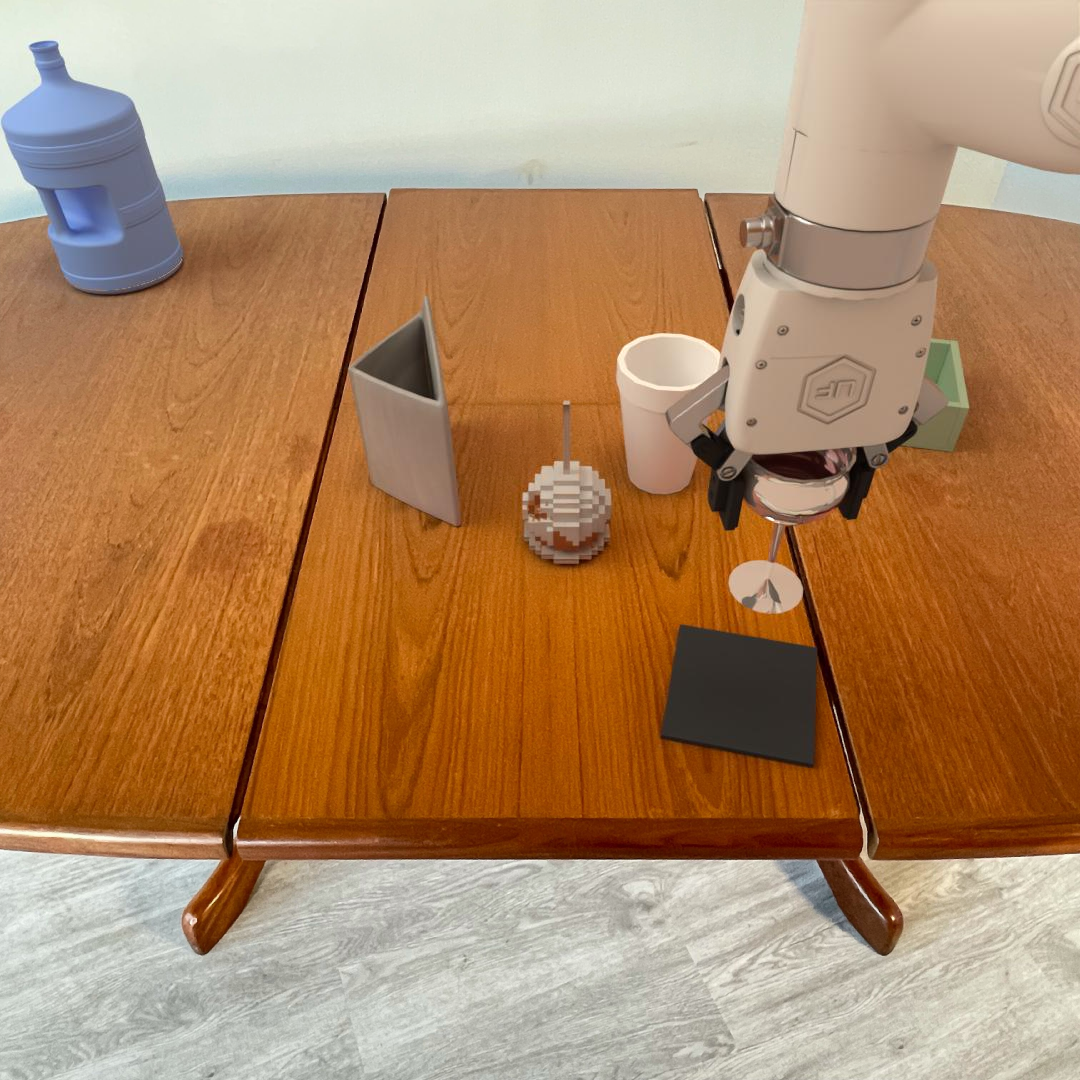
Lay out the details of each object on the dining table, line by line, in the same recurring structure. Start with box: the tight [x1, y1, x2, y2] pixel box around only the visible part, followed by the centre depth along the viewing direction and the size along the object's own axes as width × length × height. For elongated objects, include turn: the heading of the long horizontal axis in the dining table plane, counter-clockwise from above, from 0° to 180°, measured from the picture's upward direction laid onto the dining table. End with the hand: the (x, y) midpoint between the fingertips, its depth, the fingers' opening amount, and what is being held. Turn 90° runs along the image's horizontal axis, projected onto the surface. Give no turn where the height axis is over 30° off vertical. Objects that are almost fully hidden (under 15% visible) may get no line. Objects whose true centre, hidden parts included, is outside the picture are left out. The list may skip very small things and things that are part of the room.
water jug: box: [0, 40, 184, 295], centre depth 112 cm, size 16×16×28 cm
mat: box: [660, 624, 818, 768], centre depth 68 cm, size 11×11×1 cm
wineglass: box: [727, 447, 856, 615], centre depth 55 cm, size 7×7×12 cm
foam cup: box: [615, 332, 721, 495], centre depth 83 cm, size 10×9×13 cm
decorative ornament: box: [521, 400, 612, 565], centre depth 76 cm, size 8×8×15 cm
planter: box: [347, 295, 462, 527], centre depth 81 cm, size 16×8×19 cm, turn 12°
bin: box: [899, 337, 970, 453], centre depth 92 cm, size 13×13×5 cm
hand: (783, 508), depth 55 cm, fingers closed on wineglass, 6 cm apart
